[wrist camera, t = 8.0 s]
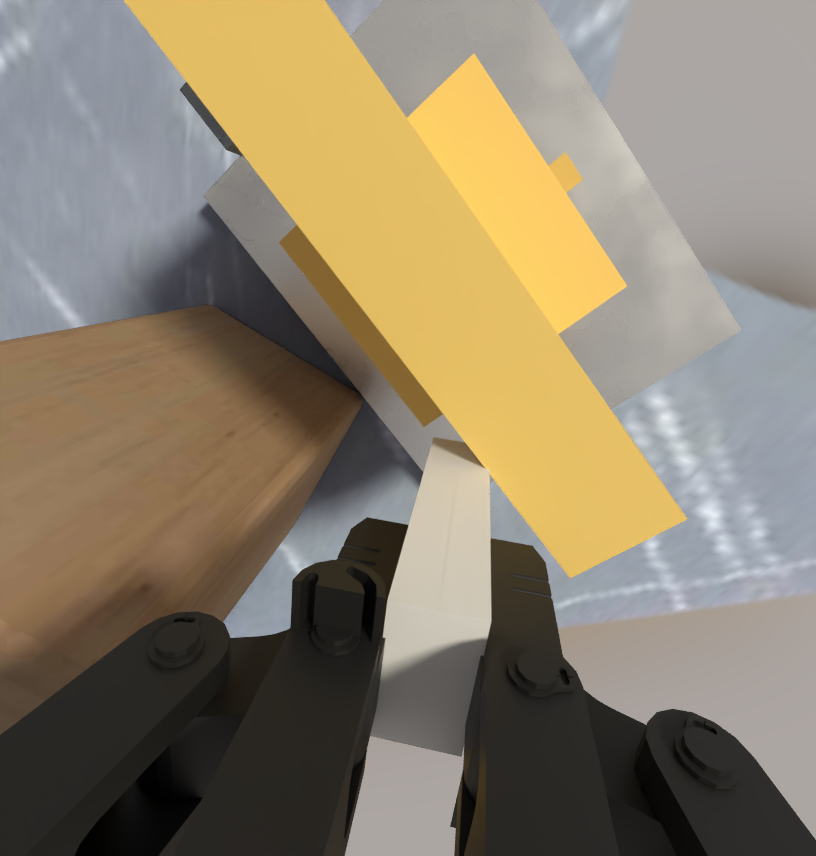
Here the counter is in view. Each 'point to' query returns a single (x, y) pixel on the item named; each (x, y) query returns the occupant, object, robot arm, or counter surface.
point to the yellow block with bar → (433, 254)
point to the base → (553, 136)
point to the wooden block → (145, 481)
